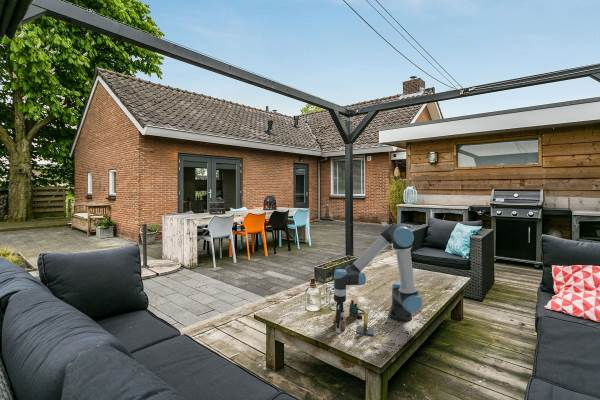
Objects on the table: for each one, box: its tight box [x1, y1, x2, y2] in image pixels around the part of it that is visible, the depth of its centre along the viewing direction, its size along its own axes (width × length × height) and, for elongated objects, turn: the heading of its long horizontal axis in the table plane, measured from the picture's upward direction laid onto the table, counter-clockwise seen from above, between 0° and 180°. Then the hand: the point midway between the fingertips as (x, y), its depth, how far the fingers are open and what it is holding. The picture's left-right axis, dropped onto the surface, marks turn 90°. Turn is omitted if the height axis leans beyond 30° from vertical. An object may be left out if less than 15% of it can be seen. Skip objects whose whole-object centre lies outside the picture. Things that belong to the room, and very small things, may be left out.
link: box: [332, 315, 347, 332], centre depth 192 cm, size 7×7×6 cm
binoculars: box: [348, 299, 365, 320], centre depth 208 cm, size 9×11×10 cm
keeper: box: [356, 311, 375, 337], centre depth 187 cm, size 10×9×12 cm
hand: (339, 327), depth 192 cm, fingers open, 13 cm apart
